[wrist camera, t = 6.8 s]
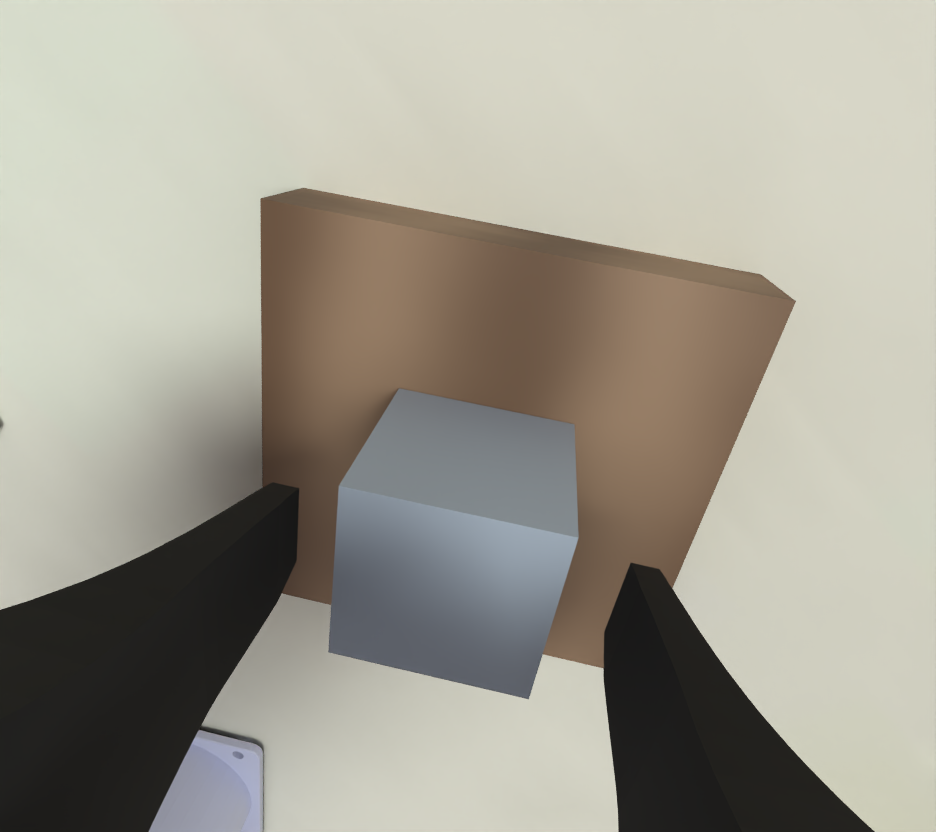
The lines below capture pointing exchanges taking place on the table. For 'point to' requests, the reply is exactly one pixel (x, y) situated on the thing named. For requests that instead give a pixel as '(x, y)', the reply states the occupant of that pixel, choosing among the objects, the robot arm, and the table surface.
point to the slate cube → (455, 542)
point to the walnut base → (508, 371)
